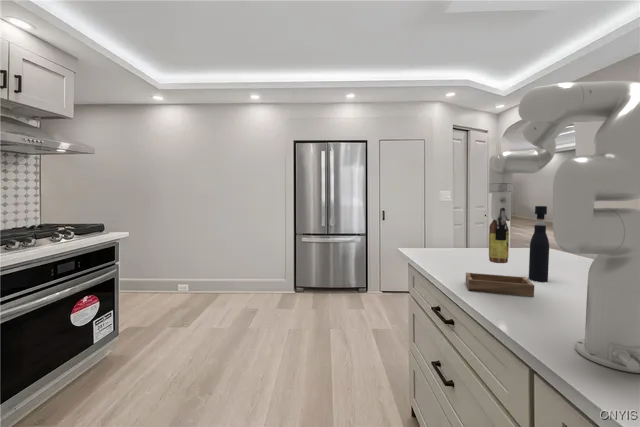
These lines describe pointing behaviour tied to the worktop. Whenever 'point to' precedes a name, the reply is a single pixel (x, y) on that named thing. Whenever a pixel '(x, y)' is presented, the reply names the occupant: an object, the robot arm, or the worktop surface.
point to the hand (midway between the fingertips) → (498, 238)
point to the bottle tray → (499, 284)
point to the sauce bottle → (498, 245)
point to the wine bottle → (539, 248)
